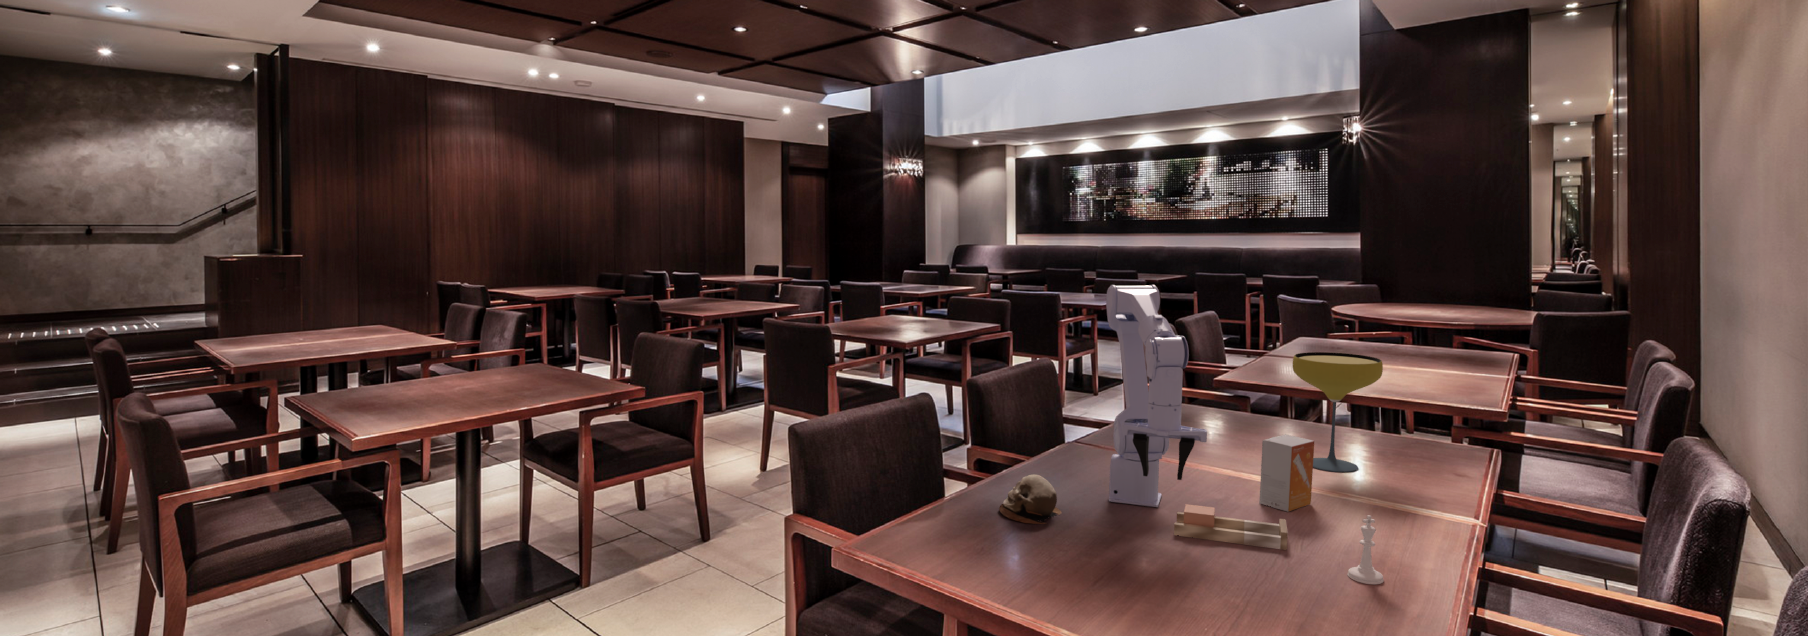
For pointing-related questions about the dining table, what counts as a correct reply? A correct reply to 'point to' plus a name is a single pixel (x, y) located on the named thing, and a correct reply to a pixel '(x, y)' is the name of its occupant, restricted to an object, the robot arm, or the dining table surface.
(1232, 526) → the chute
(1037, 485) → the skull
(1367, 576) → the chess piece
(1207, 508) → the block
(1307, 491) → the small box
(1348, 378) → the cocktail glass
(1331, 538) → the dining table surface
